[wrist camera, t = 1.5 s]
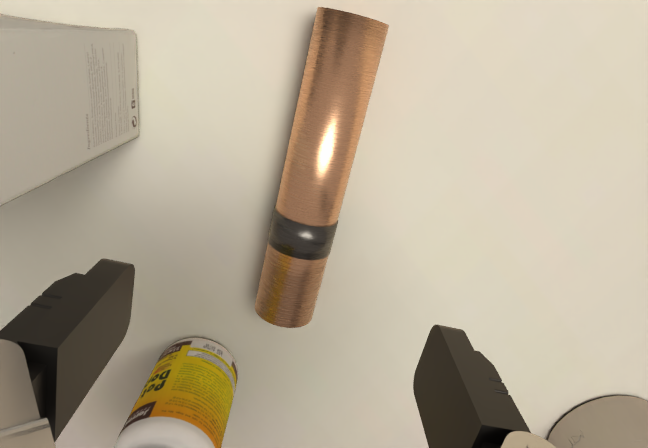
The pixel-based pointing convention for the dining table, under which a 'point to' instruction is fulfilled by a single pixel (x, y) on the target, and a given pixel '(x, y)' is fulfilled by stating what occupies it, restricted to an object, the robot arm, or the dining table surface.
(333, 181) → the copper tube
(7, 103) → the skincare box
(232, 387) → the supplement bottle
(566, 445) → the robot arm
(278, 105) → the dining table surface
